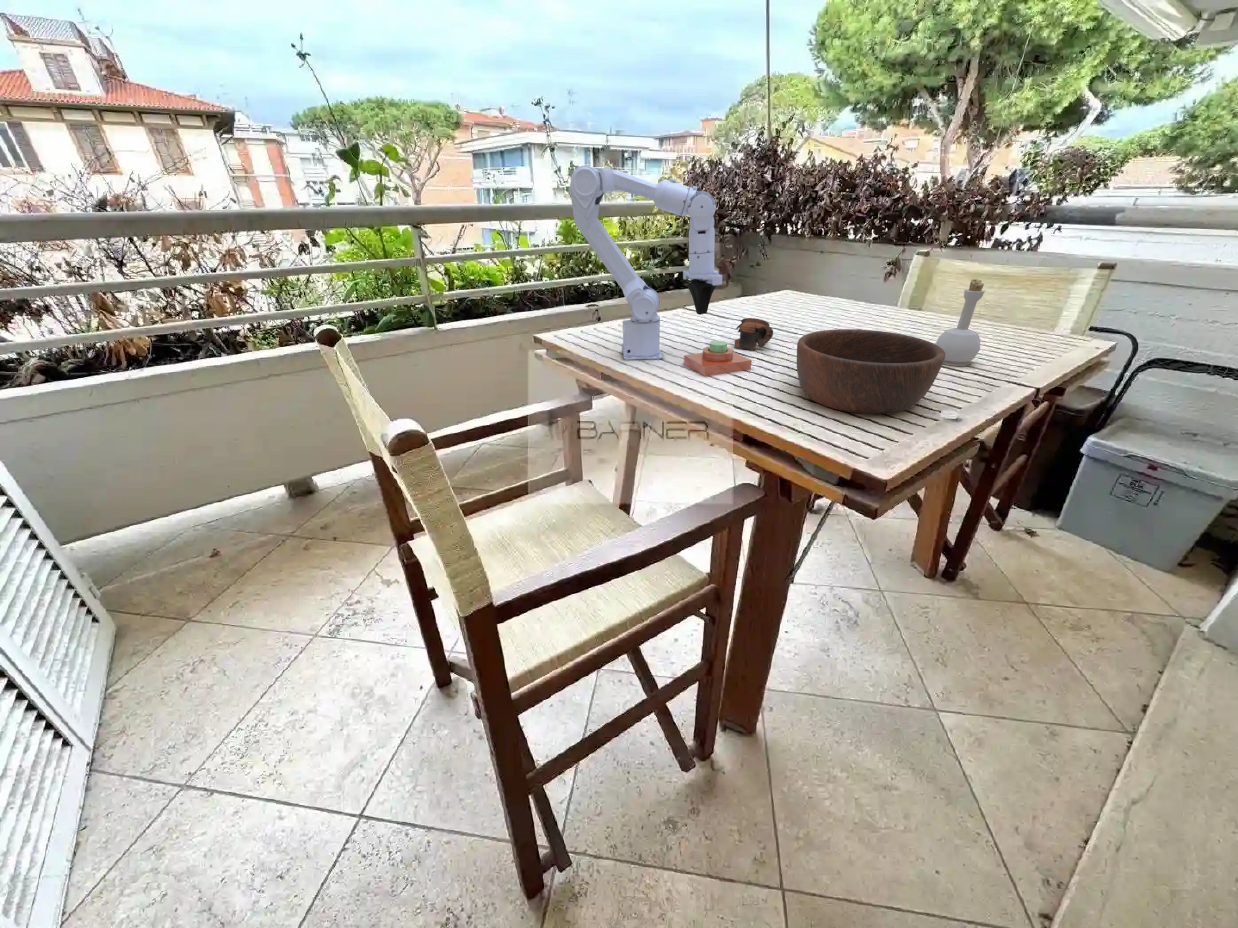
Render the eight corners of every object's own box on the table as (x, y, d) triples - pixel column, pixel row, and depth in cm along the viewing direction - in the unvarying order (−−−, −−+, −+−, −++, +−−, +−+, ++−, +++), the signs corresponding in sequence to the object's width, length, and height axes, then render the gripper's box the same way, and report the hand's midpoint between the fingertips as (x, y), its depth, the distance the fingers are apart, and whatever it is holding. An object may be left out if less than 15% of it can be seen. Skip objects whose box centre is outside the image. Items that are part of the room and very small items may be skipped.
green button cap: (714, 355, 109) (715, 346, 108) (705, 350, 112) (706, 341, 111) (729, 352, 110) (730, 344, 109) (720, 348, 114) (721, 339, 113)
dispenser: (704, 376, 107) (706, 359, 105) (683, 364, 115) (684, 347, 113) (750, 369, 111) (752, 352, 109) (726, 358, 119) (728, 341, 117)
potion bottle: (961, 356, 116) (987, 277, 107) (982, 367, 108) (1012, 283, 100) (923, 356, 117) (946, 277, 108) (940, 367, 109) (967, 283, 101)
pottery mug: (723, 347, 129) (731, 317, 128) (747, 358, 134) (755, 329, 133) (757, 345, 118) (766, 312, 118) (782, 357, 124) (790, 326, 123)
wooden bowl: (951, 398, 93) (969, 345, 88) (891, 434, 80) (907, 375, 75) (831, 368, 110) (840, 322, 105) (764, 394, 97) (771, 343, 92)
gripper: (734, 251, 104) (733, 316, 111) (701, 248, 116) (701, 306, 123) (706, 255, 102) (706, 320, 109) (674, 252, 114) (676, 310, 121)
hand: (701, 313), depth 116 cm, fingers closed
